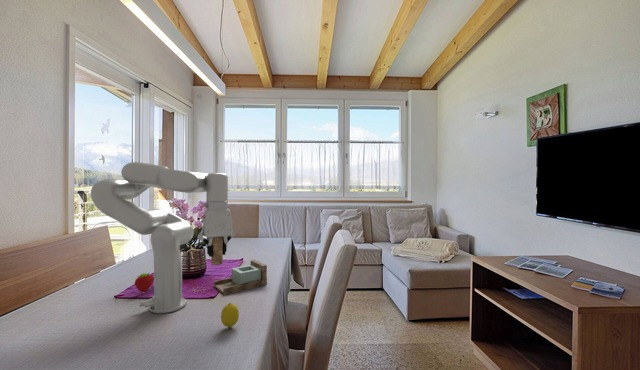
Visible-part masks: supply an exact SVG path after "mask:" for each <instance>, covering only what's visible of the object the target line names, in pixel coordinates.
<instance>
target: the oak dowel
mask: <svg viewBox="0 0 640 370" xmlns="http://www.w3.org/2000/svg"><path fill="white" fill-rule="evenodd" d="M212 246H213V257H210V258H211V259H210V260H211V262H210V264H211V266H220V265H223V261H224V260H223V259H224V258H223V256H224V255H223V237H215V238H213V240H212Z"/></svg>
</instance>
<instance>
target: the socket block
mask: <svg viewBox="0 0 640 370" xmlns="http://www.w3.org/2000/svg"><path fill="white" fill-rule="evenodd" d="M231 277H232V282H234V283H235V284H237V285H239V284H243V283H248V282H252V281H256V280H261V269H259V268H257V267H255V266H253V265H251V264H248V265H242V266H237V267H232V268H231Z"/></svg>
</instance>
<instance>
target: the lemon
mask: <svg viewBox="0 0 640 370" xmlns="http://www.w3.org/2000/svg"><path fill="white" fill-rule="evenodd" d="M239 318H240V313H239V309H238V307H237V305H236V304H234V303H231V302H229V303H228V304H225V305H224V306H223V308H222V309H221V314H220V320H221V323H222V324H223V326H224V327H227V328H229V329H231V328H232V327H234V326H235V325H236V324H237V323H238V321H239Z"/></svg>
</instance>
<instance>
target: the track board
mask: <svg viewBox="0 0 640 370" xmlns="http://www.w3.org/2000/svg"><path fill="white" fill-rule="evenodd" d="M250 265H253V266H255V267H257V268H259V269H261V280H256V281H252V282H248V283H243V284H239V285H237V284H235V283H234V282H232V276H231V277H226V278H223V279H222V278H221V279H217V280H213V287H214V288H215V287H216V288H217V289H216V288H215V289H216V290H218V292H220V293H221V294H222V295H224V296H225V295H228V294H234V293H238V292H241V291H245V290H250V289H254V288H258V287H259V288H260V287H264V286H265V285H267V284H268V276H267V275H268V270H267V267H268V265H267V264H265V263H263V262H261V261H258V260H256V259H251V260H250Z"/></svg>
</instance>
